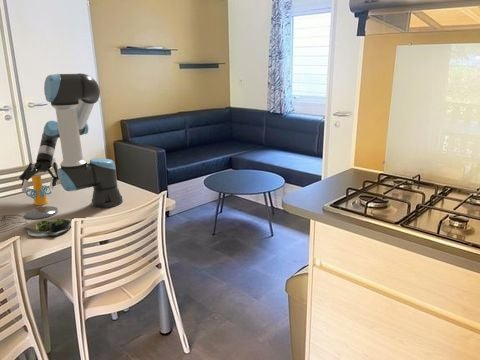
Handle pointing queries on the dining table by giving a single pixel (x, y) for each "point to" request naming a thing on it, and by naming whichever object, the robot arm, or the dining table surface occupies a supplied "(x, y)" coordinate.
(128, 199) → the dining table surface
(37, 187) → the cylinder
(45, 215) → the base plate
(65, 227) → the salad plate
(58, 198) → the dining table surface
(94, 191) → the robot arm
